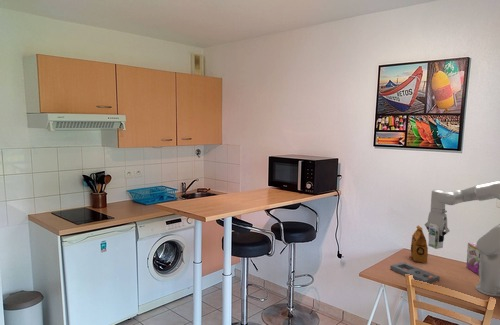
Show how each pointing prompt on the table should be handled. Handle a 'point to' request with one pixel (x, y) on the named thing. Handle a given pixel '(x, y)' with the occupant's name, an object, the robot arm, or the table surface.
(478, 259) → the candy bar box
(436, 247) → the syrup box
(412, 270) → the gray compartment tray
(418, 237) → the coffee package
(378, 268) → the table surface
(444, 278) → the table surface
